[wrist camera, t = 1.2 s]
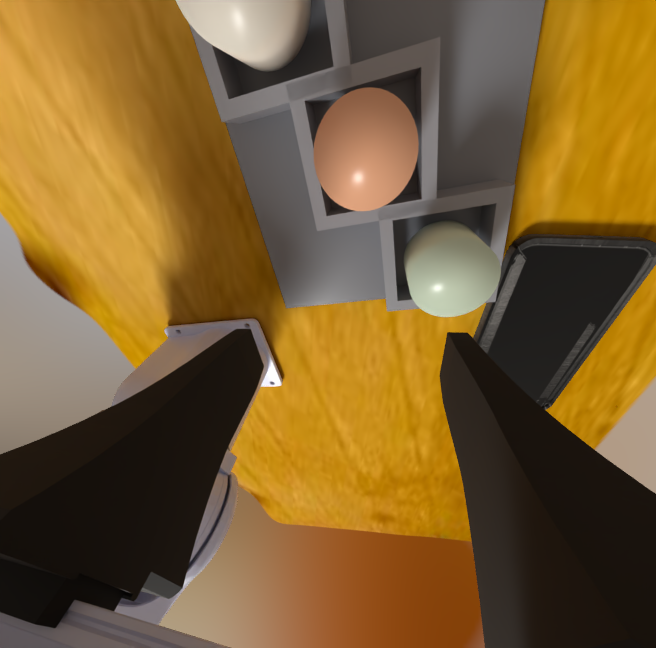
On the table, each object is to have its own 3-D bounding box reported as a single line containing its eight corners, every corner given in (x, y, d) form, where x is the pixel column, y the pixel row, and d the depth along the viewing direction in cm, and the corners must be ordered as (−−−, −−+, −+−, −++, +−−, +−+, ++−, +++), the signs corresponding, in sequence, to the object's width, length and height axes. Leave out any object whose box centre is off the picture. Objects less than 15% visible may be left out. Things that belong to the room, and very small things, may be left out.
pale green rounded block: (404, 291, 17) (410, 320, 14) (402, 226, 15) (407, 246, 12) (474, 283, 16) (494, 313, 13) (482, 214, 14) (508, 232, 11)
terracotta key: (334, 203, 14) (324, 218, 12) (318, 112, 12) (302, 104, 10) (410, 189, 13) (419, 201, 11) (408, 87, 11) (417, 71, 9)
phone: (452, 403, 24) (519, 237, 15) (449, 393, 25) (511, 231, 16) (547, 413, 23) (675, 242, 14) (540, 403, 24) (657, 236, 15)
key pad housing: (288, 304, 21) (278, 323, 19) (171, -57, 12) (126, -100, 9) (494, 284, 18) (509, 303, 16) (581, -261, 8) (654, -403, 6)
